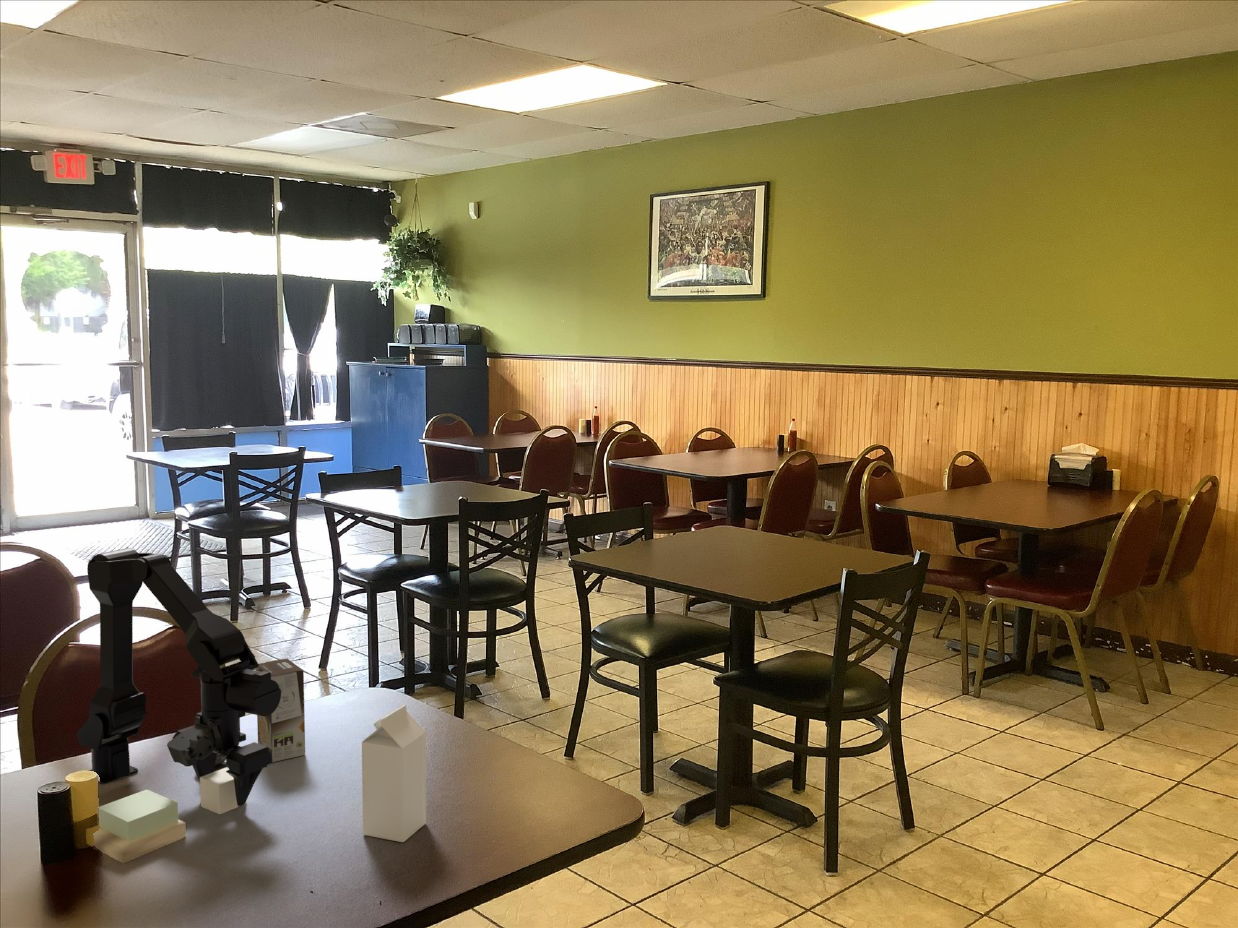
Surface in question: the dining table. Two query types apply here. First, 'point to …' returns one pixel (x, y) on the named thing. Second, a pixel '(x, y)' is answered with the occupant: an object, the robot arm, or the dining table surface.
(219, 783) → the cream block
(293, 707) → the coffee box
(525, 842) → the dining table surface
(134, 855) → the maple slab
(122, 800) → the sage slab
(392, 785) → the milk carton
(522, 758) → the dining table surface
